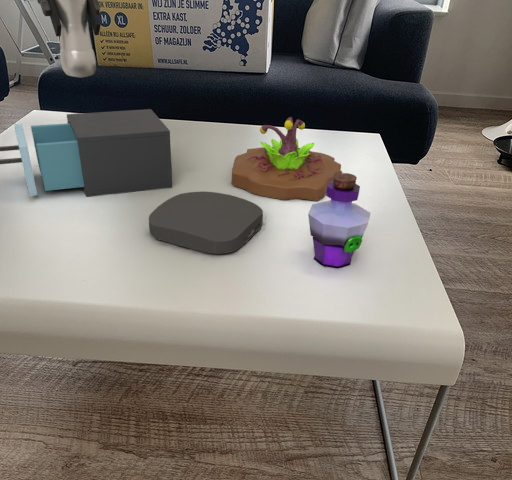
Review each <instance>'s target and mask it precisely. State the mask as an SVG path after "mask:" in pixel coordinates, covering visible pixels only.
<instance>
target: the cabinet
mask: <svg viewBox="0 0 512 480" xmlns="http://www.w3.org/2000/svg"><path fill="white" fill-rule="evenodd" d="M66 120H67V123H69V124H70V126H71V128H72V130H73V132H74V135H75V137H76V139H77V141H78V148H79V155H80V161H81V168H82V175H83V181H84V187H82V190H83V192H84V194H85V197H96V196H105V195H106V196H107V195H115V194H123V193H132V192H133V193H134V192H140V191H151V190H159V189H170V188H173V187H174V185H173V169H172V168H173V167H172V166H173V165H172V147H171V145H172V144H171V131H170V129H169V128H168V127H167V126H166V125H165V123H164V122H163V121H162V120H161V119H160V118H159V117H158V116H157V114H156V113H155V112H154V111H153V110H152V109H151V108H147V109H131V110H130V109H129V110H115V111H114V110H113V111H98V112H82V113H81V112H79V113H67V114H66Z"/></svg>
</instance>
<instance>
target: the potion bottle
mask: <svg viewBox="0 0 512 480" xmlns="http://www.w3.org/2000/svg"><path fill="white" fill-rule="evenodd" d="M360 190H361V185H359V184H357V176H356V175H354V174H352V173H348V172H342V173H339V174H336V175H334V176H333V181H331V182H329V184H328V186H327V193H326V194H325V197H327V198H328V199H329V200H324V201H321V202H315V203H312V204H311V206H310V209H309V211H308V214H307V216H308V224H309V235H310V236H311V237H312V244H313V253H314V256H313V260H314V261H315V262H316V263H318V264H319V265H320V266H321V267H325V268H330V269H338V270H339V269H342V268H346V267H349V266H351V264H352V260H353V257H354V253H355V252H356V251H357V250H359V249H360V247H361V244H363V243H362V242H363V237H364V234H365V232H366V229H367V227H368V225H369V222H370V217H371V212H370V211H368V210H367V209H365V208H364V207H361V206H360V205H358V204H357V203H355V202H356V201H358V198H359V195H360Z"/></svg>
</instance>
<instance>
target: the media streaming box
mask: <svg viewBox="0 0 512 480" xmlns="http://www.w3.org/2000/svg"><path fill="white" fill-rule="evenodd" d="M263 217H264V211H263V209H262V208H261V206H259V205H258V204H256V203H254V202H252V201H250V200H247V199H245V198H242V197H238V196H235V195H232V194H226V193H222V192H215V191H190V192H189V191H188V192H183V193H179V194H176V195H173V196H172V197H170V198H168V199H166V200H165V201H164V202H162V203H161V204H159V205H158V206H157V207H156V208H155V209H154V210H153V211H152V212H151V213H150V214H149V215H148V228H149V234H150V235H151V236H152V237H153V238H154V239H157V240H159V241H162V242H166V243H169V244H173V245H176V246H180V247H183V248H187V249H191V250H195V251H199V252H204V253H208V254H217V255H218V254H219V255H220V254H221V255H222V254H229V253H233V252H235V251H237V250H238V249H240V248H241V247H242V246H244V244H246V243H247V242H248V241H249V240H250V239H251V238H252V237H253V236H254V235H255V234H256V233H257V232H258V231H259V230H260V229H261V228H262V226H263V221H264V220H263Z"/></svg>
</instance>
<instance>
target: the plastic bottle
mask: <svg viewBox="0 0 512 480" xmlns="http://www.w3.org/2000/svg"><path fill="white" fill-rule="evenodd" d="M53 1H54V4H55V7H56V10H57V13H58V16H59V19H60V22H61V25H62V28H61V36H59V45H60V49H59V55H60V56H59V59H60V60H59V61H60V65H61V68H62V71H63V72H64V73H65V75H66V76H69V77H73V78H79V79H80V78H86V77H90V76H94V75H95V72H96V70H97V59H96V55H95V51H94V49H93V43H92V38H91V33H90V27H89V22H88V20H89V16H88V13H87V0H53Z"/></svg>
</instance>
